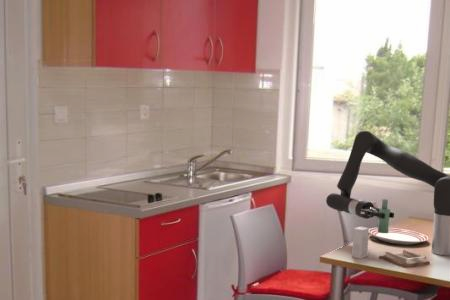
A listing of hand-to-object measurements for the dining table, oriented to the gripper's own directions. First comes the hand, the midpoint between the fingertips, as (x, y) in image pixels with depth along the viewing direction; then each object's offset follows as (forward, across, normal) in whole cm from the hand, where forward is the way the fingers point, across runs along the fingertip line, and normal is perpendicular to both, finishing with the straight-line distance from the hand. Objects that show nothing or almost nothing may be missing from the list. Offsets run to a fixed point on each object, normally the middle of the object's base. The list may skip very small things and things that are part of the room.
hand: (388, 215), depth 250 cm
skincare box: (-2, -13, +17) cm, 21 cm away
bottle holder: (+10, 0, +17) cm, 20 cm away
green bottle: (-3, 0, +8) cm, 8 cm away
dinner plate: (-20, +26, +17) cm, 37 cm away
